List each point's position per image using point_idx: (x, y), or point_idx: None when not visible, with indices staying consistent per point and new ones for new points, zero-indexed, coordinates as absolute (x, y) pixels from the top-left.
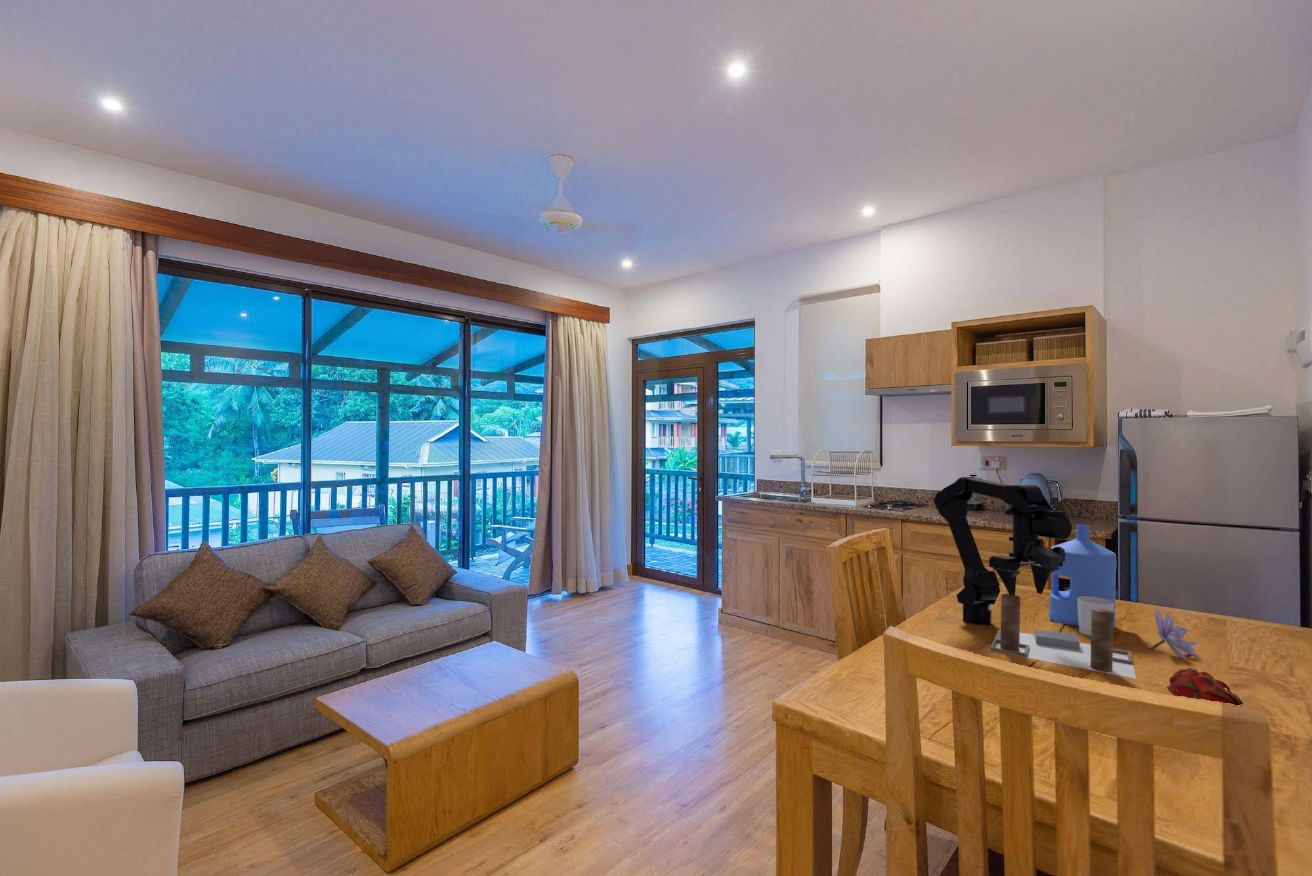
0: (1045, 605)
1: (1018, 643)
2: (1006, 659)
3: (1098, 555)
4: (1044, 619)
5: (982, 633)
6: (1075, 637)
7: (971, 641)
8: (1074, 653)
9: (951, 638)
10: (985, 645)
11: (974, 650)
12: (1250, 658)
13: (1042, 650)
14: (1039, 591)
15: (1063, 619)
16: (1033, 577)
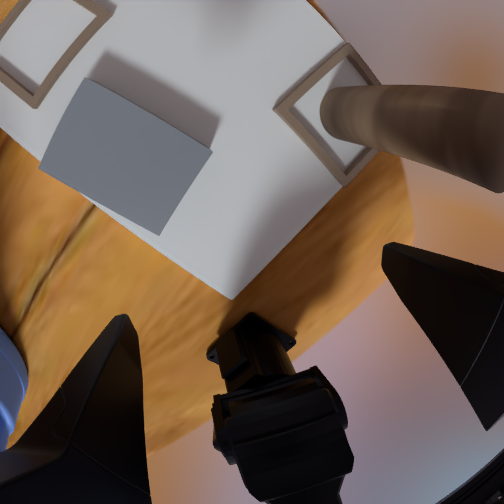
0: (20, 429)
1: (350, 86)
2: None
3: None
4: (39, 378)
5: (280, 290)
6: (60, 132)
7: (360, 226)
8: (142, 45)
9: None
10: (349, 192)
11: (400, 161)
12: None
13: (242, 80)
14: (129, 334)
15: (5, 348)
16: (145, 455)
